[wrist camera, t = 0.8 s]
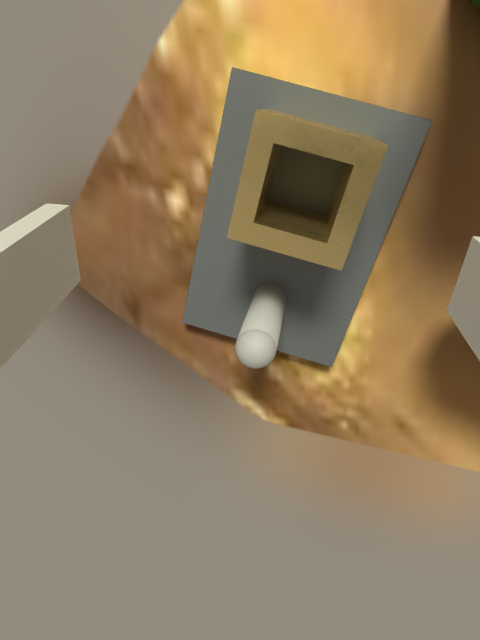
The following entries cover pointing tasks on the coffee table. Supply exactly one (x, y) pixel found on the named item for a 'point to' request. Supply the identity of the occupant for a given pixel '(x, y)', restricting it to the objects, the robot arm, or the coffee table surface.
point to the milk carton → (476, 3)
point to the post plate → (301, 192)
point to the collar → (294, 223)
